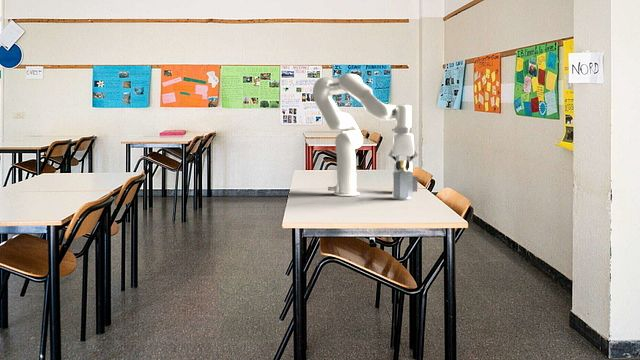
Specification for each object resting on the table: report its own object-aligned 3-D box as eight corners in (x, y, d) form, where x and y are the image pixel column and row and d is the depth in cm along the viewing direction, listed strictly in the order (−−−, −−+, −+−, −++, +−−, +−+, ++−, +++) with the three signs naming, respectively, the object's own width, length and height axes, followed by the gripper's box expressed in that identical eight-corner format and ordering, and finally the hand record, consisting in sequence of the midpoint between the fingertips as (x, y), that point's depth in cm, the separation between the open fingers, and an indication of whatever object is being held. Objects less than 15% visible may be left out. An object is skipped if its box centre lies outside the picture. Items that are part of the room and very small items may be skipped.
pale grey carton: (393, 200, 295) (394, 172, 293) (391, 197, 304) (391, 170, 303) (418, 200, 295) (418, 172, 293) (415, 197, 304) (415, 170, 303)
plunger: (396, 194, 296) (397, 161, 294) (395, 193, 302) (395, 160, 300) (409, 194, 296) (410, 161, 294) (407, 193, 302) (408, 160, 300)
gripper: (386, 131, 292) (386, 171, 294) (422, 131, 292) (421, 170, 294) (384, 131, 300) (384, 169, 302) (419, 131, 300) (418, 169, 302)
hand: (402, 169), depth 298 cm, fingers closed on plunger, 3 cm apart
